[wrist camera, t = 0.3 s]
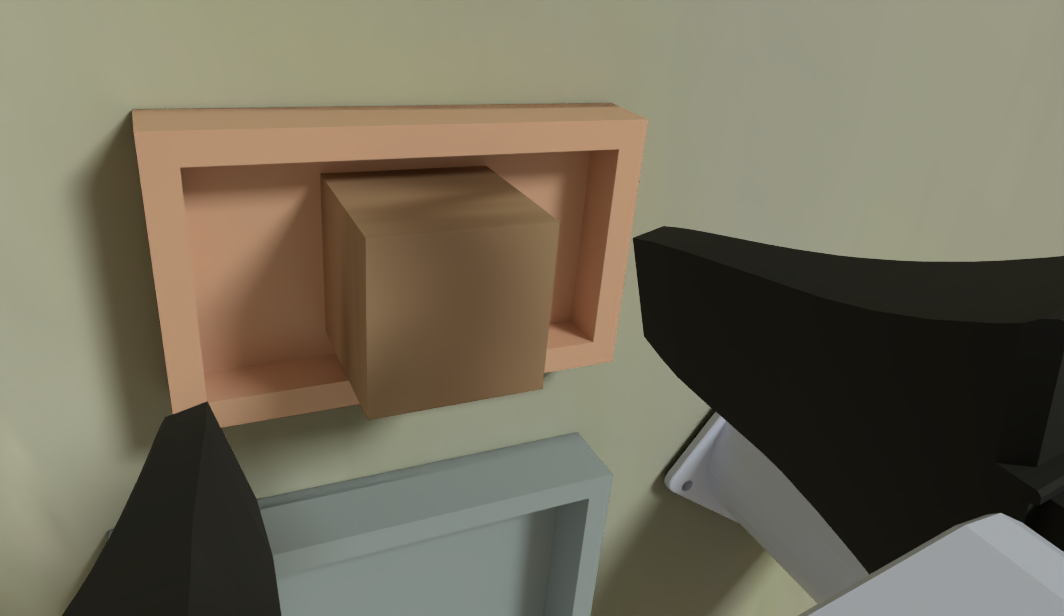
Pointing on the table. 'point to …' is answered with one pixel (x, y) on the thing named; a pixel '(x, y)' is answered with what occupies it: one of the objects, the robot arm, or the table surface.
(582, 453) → the slate tray
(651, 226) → the table surface
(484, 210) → the walnut block
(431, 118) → the terracotta holder
